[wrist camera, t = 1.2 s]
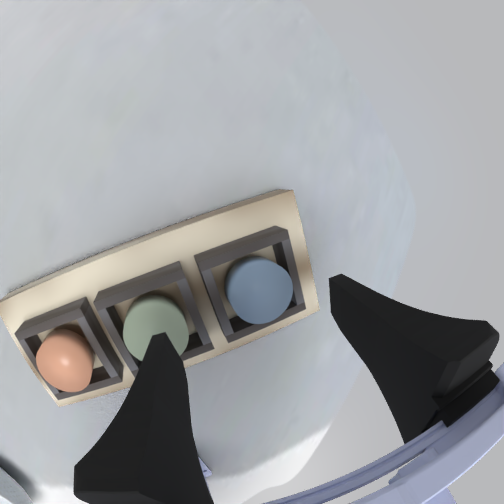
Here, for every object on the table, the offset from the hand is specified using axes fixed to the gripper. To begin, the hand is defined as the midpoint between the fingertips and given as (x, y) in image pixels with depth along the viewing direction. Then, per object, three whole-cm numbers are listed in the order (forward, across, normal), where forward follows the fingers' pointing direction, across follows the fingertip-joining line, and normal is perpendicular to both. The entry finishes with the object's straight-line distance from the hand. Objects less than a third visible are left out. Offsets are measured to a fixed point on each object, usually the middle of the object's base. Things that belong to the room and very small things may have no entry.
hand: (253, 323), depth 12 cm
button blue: (+7, -1, +3) cm, 8 cm away
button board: (+9, +6, +4) cm, 12 cm away
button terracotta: (+5, +13, +3) cm, 14 cm away
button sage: (+6, +6, +3) cm, 9 cm away
